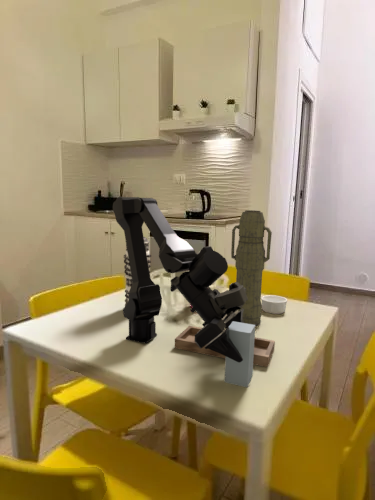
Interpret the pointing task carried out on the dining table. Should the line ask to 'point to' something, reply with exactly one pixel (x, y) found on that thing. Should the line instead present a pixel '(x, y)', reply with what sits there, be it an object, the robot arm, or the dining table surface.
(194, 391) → the dining table surface
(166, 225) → the robot arm
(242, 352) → the slate post
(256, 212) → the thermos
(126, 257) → the decorative candle
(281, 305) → the ramekin
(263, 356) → the wooden tray
